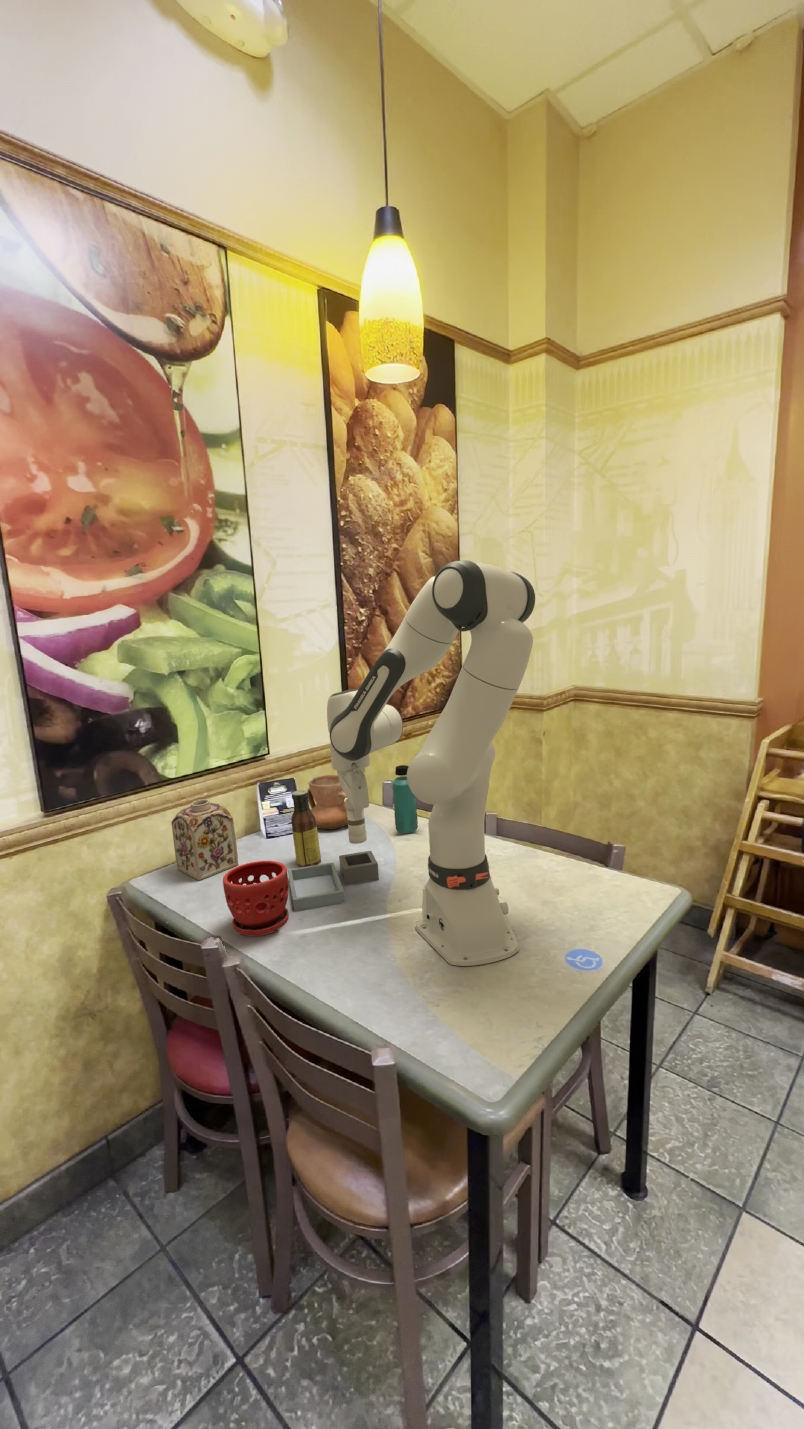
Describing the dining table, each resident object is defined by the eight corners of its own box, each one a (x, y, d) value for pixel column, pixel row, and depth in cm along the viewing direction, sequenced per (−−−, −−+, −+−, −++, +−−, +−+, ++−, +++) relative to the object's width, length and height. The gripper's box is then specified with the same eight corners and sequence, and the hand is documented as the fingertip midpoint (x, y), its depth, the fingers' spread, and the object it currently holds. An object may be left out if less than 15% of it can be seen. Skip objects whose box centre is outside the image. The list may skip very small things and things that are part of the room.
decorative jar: (240, 865, 158) (232, 799, 155) (198, 882, 150) (189, 813, 147) (216, 854, 167) (208, 791, 163) (176, 869, 158) (167, 803, 155)
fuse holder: (379, 883, 144) (377, 863, 143) (345, 889, 142) (344, 869, 141) (372, 869, 151) (370, 850, 151) (340, 874, 150) (338, 855, 149)
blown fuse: (368, 841, 143) (364, 801, 141) (350, 844, 142) (346, 804, 140) (364, 835, 147) (361, 796, 145) (347, 838, 146) (343, 798, 144)
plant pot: (303, 913, 132) (298, 861, 130) (268, 946, 120) (262, 889, 118) (253, 905, 137) (247, 855, 135) (215, 935, 125) (208, 881, 123)
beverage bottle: (422, 835, 171) (418, 767, 167) (400, 840, 169) (395, 770, 165) (413, 828, 177) (409, 761, 173) (391, 832, 175) (387, 765, 171)
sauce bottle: (323, 860, 158) (317, 787, 155) (318, 871, 152) (311, 795, 148) (299, 861, 159) (292, 788, 155) (292, 871, 153) (285, 796, 149)
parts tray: (345, 906, 134) (343, 891, 133) (294, 915, 131) (293, 900, 131) (334, 875, 149) (333, 862, 149) (289, 883, 147) (287, 869, 146)
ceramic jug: (369, 822, 184) (365, 776, 181) (333, 837, 173) (329, 789, 171) (329, 812, 196) (325, 769, 193) (293, 825, 185) (289, 780, 183)
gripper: (372, 767, 132) (378, 828, 134) (356, 748, 151) (360, 801, 154) (344, 771, 130) (350, 832, 133) (330, 751, 150) (336, 805, 152)
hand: (355, 815), depth 143 cm, fingers closed on blown fuse, 4 cm apart
